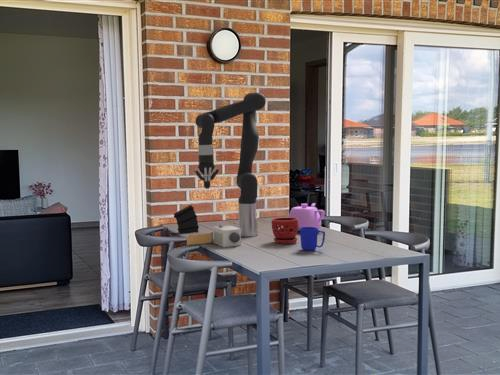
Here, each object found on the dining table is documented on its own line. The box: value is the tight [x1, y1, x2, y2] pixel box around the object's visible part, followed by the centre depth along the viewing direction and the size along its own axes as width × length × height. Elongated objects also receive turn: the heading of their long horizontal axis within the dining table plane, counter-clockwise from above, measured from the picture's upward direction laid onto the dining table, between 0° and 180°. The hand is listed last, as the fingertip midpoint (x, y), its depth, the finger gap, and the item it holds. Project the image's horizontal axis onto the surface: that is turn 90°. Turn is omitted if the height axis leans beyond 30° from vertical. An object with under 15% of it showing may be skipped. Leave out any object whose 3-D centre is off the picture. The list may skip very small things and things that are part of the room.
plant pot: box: [271, 216, 299, 245], centre depth 283 cm, size 13×13×12 cm
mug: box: [299, 227, 326, 252], centre depth 264 cm, size 8×12×10 cm
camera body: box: [213, 224, 242, 248], centre depth 280 cm, size 9×15×9 cm, turn 25°
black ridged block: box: [173, 204, 200, 234], centre depth 315 cm, size 4×13×15 cm, turn 107°
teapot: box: [288, 202, 326, 232], centre depth 320 cm, size 23×21×15 cm
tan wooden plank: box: [186, 231, 214, 246], centre depth 282 cm, size 2×14×5 cm, turn 120°
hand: (207, 188), depth 289 cm, fingers closed
